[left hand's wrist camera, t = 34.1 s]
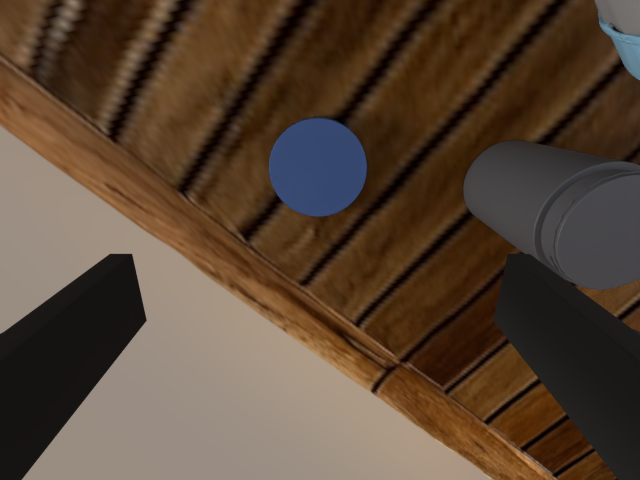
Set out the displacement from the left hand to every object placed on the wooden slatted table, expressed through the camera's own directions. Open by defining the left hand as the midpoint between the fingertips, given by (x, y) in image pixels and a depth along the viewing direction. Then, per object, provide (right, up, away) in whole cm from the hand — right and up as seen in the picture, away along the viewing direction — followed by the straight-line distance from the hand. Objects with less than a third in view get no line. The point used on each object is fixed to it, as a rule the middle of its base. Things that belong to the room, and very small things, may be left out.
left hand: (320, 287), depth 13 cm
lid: (0, +9, +22) cm, 24 cm away
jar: (+20, +8, +25) cm, 33 cm away
